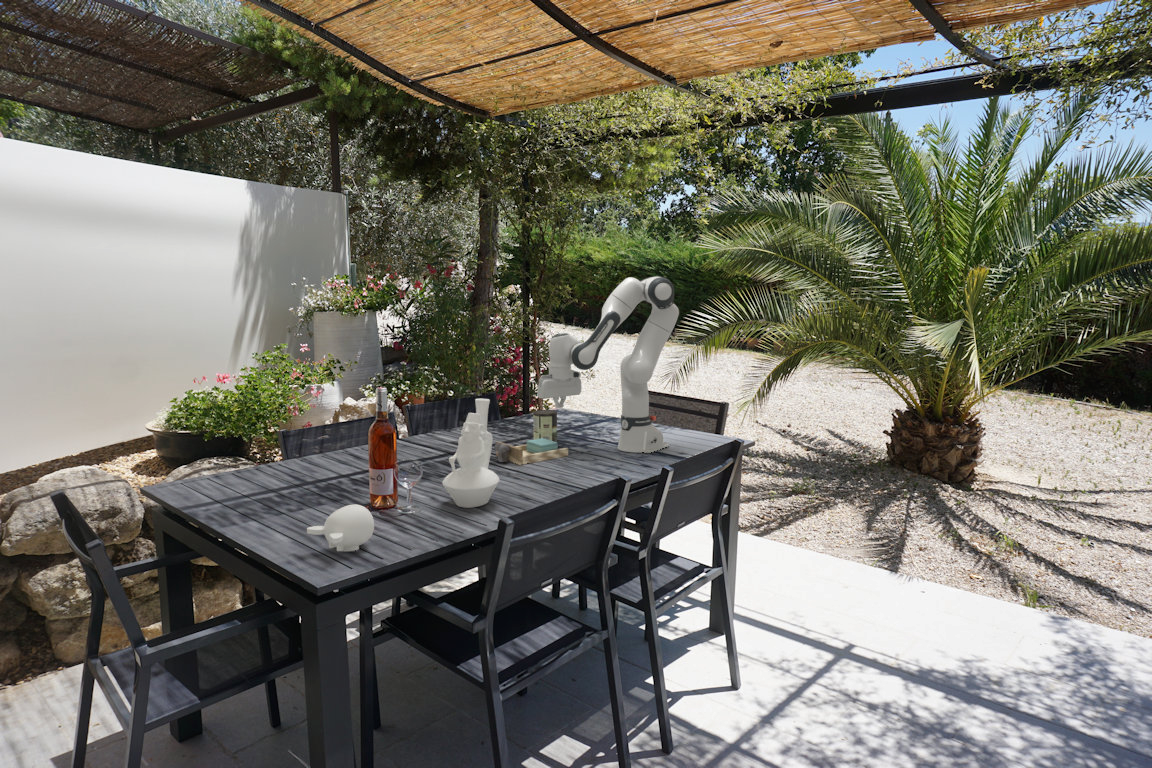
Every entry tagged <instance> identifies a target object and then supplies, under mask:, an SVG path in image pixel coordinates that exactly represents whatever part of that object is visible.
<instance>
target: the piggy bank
mask: <svg viewBox="0 0 1152 768" xmlns="http://www.w3.org/2000/svg"><path fill="white" fill-rule="evenodd" d="M374 531H375V521H374V517H373V515H372V512H370V510H369V509H368V508H367V507H366V506H364V505H361V504H348V505H345V506H342V507H341V508H338V509H336V510H335V511H333V512H332V513H331V514H330V515H329V516H328V517H327V518H326V519H325V522H324V525H313V526H309V527H307V528H306V534H309V535H313V536H319V535H320V536H321V535H324V537H325V539H326V541H327V542H328V549H334V548H336V552H355V550H356V551H358V550H359V549H360V545H363V544H365V543H366V542H367V541H369V540H370V538H371V537H372V535H373V534H374Z"/></svg>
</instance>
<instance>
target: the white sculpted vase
mask: <svg viewBox="0 0 1152 768" xmlns="http://www.w3.org/2000/svg"><path fill="white" fill-rule="evenodd" d="M474 400H475V401H474V402H475V403H474V404H475V413H474V412H467V413H468V414H467V416H466V419H465V422H463V424H462V425H463V426H462V429H461V430H460V434H461V436H460V437H459V438H458V441H457V443H458V445H457V449H456V451H455V453H454V455H453V456H450V457H449V458H448V462H449V464H450V466H451V470H452V471H451V472H450V473H449V474H447V476H446V477H444V479H443V480H442V482H441V484H442V485H443V487H444V488H445V490H446V491H447V492H448V494H449V496H450V497H451V498H452V500H453V502H454V503H455V505H456V507H457V506H458V507H460V508H466V509H468V508H469V509H471V508H477V507H482V506H485V505H486V504H488V503H489V501H490V498H491V497H492V494H493V493H494V492H495V491H494V490H496V487H497V486H498V484H499V483H500V477H499V476H498V475H497V473H495V472H494V471H493V470H490V469H489V466H490V465H489V464H490V459H491V455H492V447H493V438H494V437H493V434H492V433H491V432H490V431H488V430H487V429H488V418H489V417H488V416H489V415H488V414H489V407H490V406H489V405H490V403H491V400H490V399H489V398H482V397H481V398H475V399H474ZM456 460H457V464H459V467H458V468H456V465H455V462H456Z"/></svg>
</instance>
